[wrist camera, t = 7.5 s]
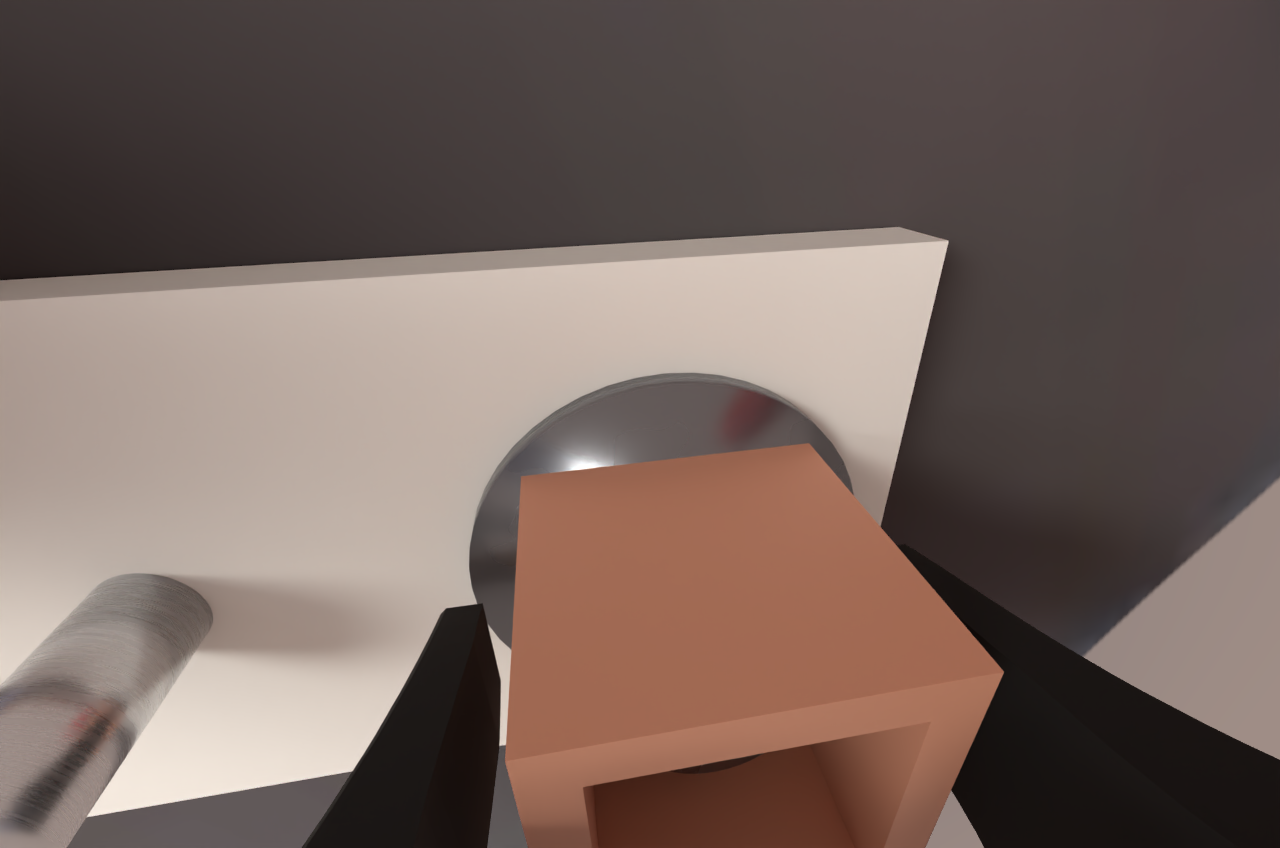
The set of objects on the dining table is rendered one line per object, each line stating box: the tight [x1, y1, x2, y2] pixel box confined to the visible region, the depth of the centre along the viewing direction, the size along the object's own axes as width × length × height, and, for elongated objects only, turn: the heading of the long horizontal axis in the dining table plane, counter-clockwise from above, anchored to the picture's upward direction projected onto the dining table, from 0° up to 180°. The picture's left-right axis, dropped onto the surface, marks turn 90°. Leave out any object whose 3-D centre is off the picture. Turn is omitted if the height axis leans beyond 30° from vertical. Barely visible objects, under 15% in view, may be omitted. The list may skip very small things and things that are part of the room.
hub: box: [469, 373, 854, 774], centre depth 10 cm, size 8×8×4 cm
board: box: [0, 227, 949, 817], centre depth 12 cm, size 20×12×2 cm, turn 92°
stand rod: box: [0, 573, 213, 848], centre depth 9 cm, size 2×2×4 cm
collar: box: [505, 443, 1004, 848], centre depth 9 cm, size 5×5×5 cm
